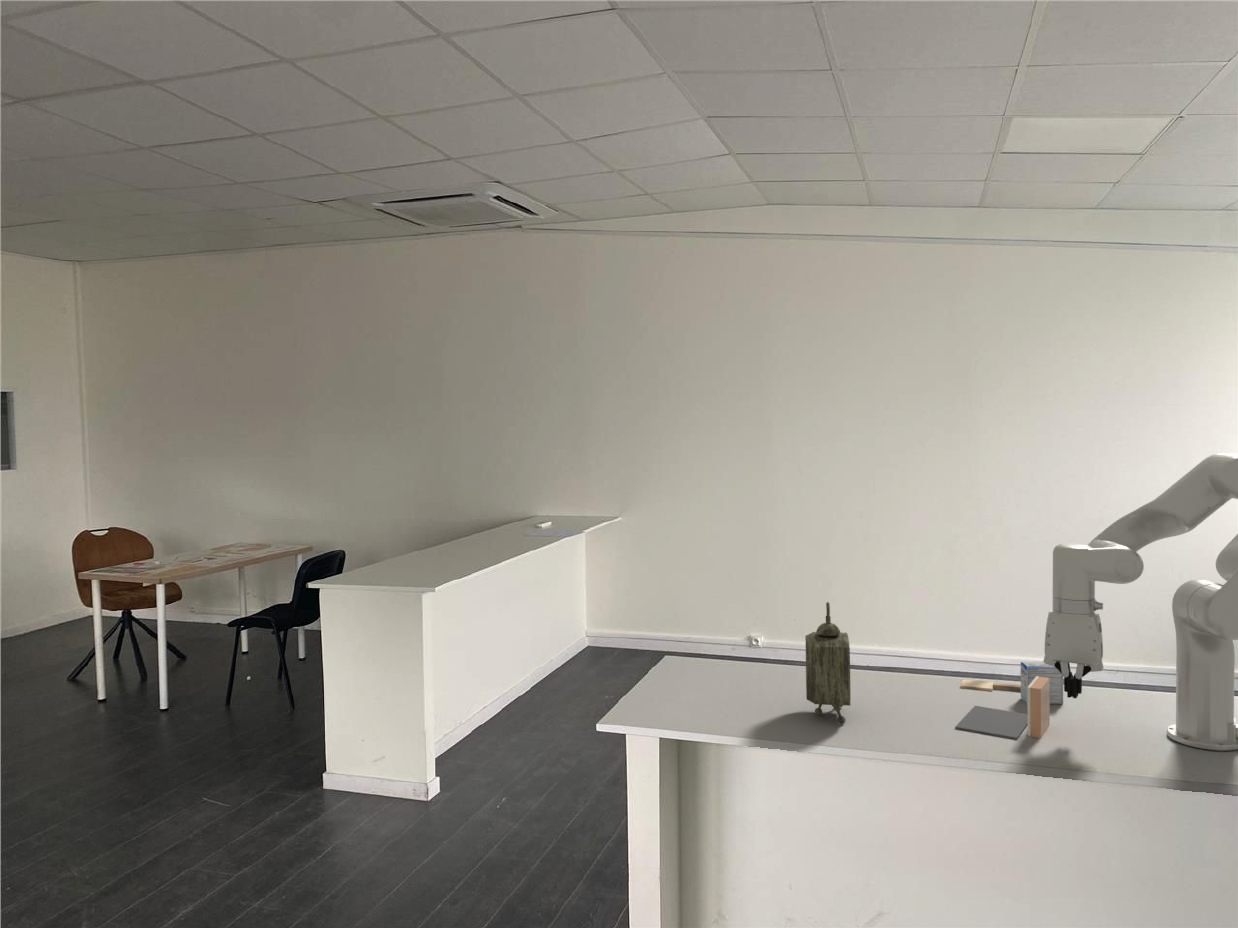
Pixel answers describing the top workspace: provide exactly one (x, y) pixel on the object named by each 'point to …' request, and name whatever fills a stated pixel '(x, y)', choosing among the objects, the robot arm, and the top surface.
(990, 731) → the mat
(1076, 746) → the top surface
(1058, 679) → the medicine box
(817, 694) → the tabletop clock
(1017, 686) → the beech turner
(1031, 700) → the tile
